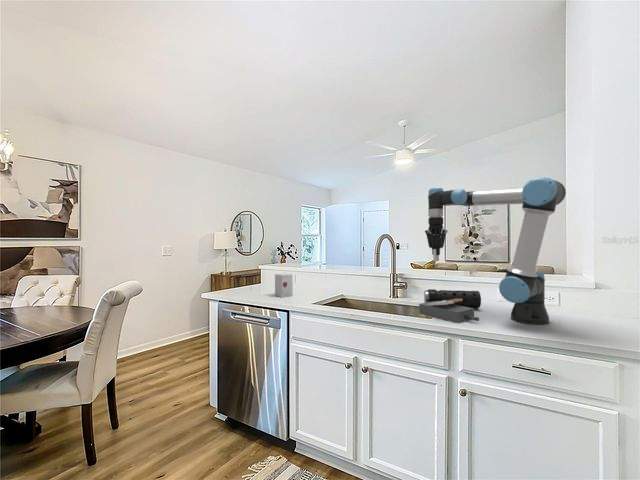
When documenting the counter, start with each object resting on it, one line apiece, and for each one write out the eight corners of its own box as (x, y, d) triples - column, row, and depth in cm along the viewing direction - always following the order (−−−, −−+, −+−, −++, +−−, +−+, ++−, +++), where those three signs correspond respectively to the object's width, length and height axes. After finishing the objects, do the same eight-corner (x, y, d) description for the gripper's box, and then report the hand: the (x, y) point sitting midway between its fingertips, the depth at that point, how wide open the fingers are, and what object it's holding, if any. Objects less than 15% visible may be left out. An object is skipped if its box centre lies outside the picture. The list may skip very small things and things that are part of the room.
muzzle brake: (481, 311, 170) (481, 292, 170) (425, 309, 176) (425, 290, 176) (476, 307, 179) (476, 289, 179) (423, 306, 185) (423, 288, 185)
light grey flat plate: (454, 303, 156) (453, 300, 157) (446, 304, 153) (445, 301, 153) (437, 303, 165) (436, 301, 165) (429, 305, 161) (428, 302, 162)
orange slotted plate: (462, 300, 160) (462, 297, 160) (455, 302, 157) (454, 299, 157) (445, 302, 168) (445, 300, 169) (438, 304, 165) (437, 301, 165)
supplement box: (281, 297, 214) (281, 275, 214) (274, 295, 221) (274, 274, 221) (293, 296, 220) (292, 274, 220) (285, 294, 227) (285, 272, 227)
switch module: (486, 321, 150) (486, 309, 150) (469, 326, 143) (469, 313, 143) (435, 310, 174) (435, 299, 174) (419, 313, 167) (419, 302, 167)
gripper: (450, 216, 170) (451, 261, 170) (430, 218, 181) (430, 260, 181) (441, 216, 166) (441, 262, 166) (421, 217, 177) (421, 260, 177)
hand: (436, 261), depth 174 cm, fingers closed
